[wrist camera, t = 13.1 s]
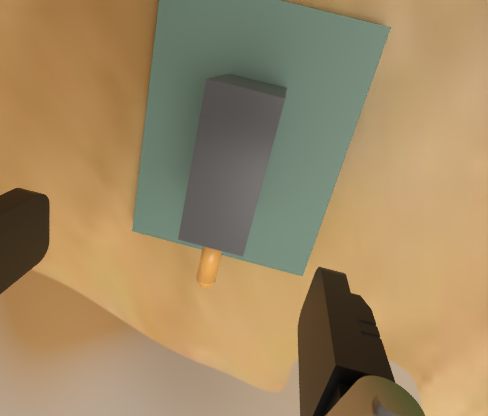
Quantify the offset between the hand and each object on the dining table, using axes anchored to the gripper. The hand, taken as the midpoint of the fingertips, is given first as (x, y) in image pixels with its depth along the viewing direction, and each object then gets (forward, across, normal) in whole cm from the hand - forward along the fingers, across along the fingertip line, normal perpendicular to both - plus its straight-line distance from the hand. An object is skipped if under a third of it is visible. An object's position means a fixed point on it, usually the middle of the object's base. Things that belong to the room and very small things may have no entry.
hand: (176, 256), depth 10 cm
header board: (+17, 0, 0) cm, 17 cm away
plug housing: (+16, 0, +2) cm, 16 cm away
